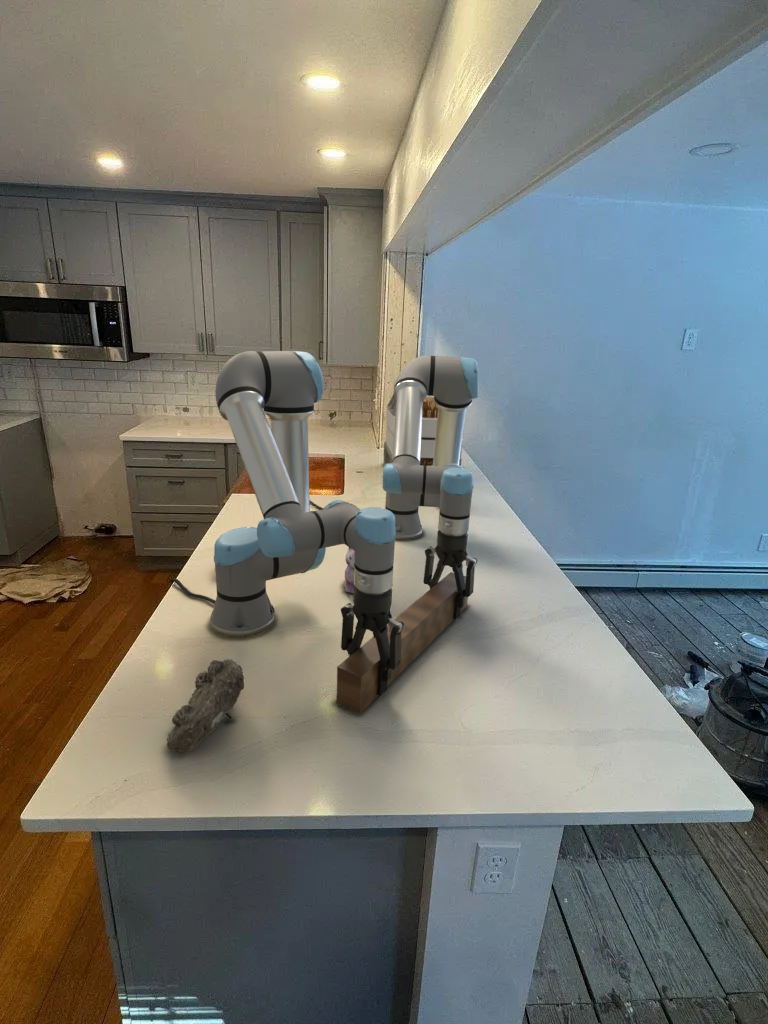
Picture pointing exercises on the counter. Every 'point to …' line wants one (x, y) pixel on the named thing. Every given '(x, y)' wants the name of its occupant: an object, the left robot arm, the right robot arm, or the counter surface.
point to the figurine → (350, 571)
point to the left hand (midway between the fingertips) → (369, 686)
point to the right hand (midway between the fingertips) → (445, 613)
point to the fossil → (206, 705)
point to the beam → (418, 632)
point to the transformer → (426, 433)
